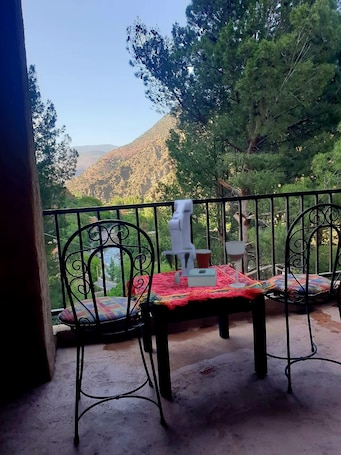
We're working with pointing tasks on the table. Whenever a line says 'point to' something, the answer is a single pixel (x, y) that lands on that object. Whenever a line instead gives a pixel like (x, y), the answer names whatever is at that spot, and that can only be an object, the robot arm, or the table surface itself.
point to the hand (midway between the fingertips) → (178, 268)
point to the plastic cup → (203, 258)
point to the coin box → (202, 277)
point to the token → (177, 277)
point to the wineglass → (236, 257)
